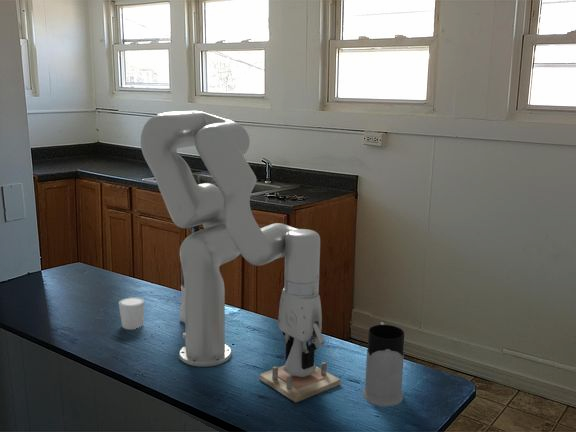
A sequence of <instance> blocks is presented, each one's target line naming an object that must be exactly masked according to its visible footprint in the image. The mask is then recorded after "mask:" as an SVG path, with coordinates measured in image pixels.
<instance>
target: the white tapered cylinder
mask: <svg viewBox="0 0 576 432" xmlns="http://www.w3.org/2000/svg"><path fill="white" fill-rule="evenodd" d="M145 302H146V301H145V299H144V298H142V297H136V296H134V297H133V296H132V297H126V298H123V299H120V300H119V301H118V306H119V315H120V321H121V327H122V329H125V330H136V328H138V329H140V328H142V327H143V326H144V317H145ZM141 326H142V327H141ZM139 327H140V328H139Z"/></svg>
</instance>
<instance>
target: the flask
mask: <svg viewBox="0 0 576 432" xmlns="http://www.w3.org/2000/svg"><path fill="white" fill-rule="evenodd" d="M302 352H304V348H303V342H302V341H299V340H297V339H296V338H294V341H293V346H292V348H291V351H290V354H289V356H288V359H287V360H286V362H285V363H284V365H285V366H284V365H283V366H284V368H283V370H284V371H285V372H287V373H288V374H290V375H293V376H299V377H305V376H308V375H311V374H313V373H314V371H315V369H316V363H315V362H314V366H313V367H310V368H307V369H302Z"/></svg>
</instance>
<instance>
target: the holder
mask: <svg viewBox="0 0 576 432" xmlns="http://www.w3.org/2000/svg"><path fill="white" fill-rule="evenodd" d="M367 340H368V341H367V349H366V361H365V362H366V364H365V382H364V389H363V391H362V397H363V399H364V398H365V399H366V400H367V402H368V403H369V404H372V405H374V404H375V405H376V406H380V407H394V406H397V405H400V404H401V403H402V401H403V399H404V395H403V393H402V389H403V388H402V387H403V375H404V374H403V373H404V372H403V371H404V361H405V360H404V357H405V352H404V345H405V331H404V330H403V329H402V328H400V327H398V326H394V325H391V324H385V323H384V322H380V324H376V325H373V326H370V328H369V329H368V339H367ZM365 399H364V400H365ZM366 400H365V401H366Z"/></svg>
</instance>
